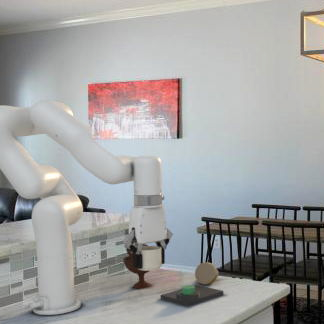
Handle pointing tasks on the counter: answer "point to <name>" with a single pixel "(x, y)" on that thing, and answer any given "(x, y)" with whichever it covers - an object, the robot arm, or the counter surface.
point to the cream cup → (151, 258)
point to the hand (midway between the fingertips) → (149, 265)
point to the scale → (192, 296)
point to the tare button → (188, 290)
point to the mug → (206, 273)
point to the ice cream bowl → (135, 270)
